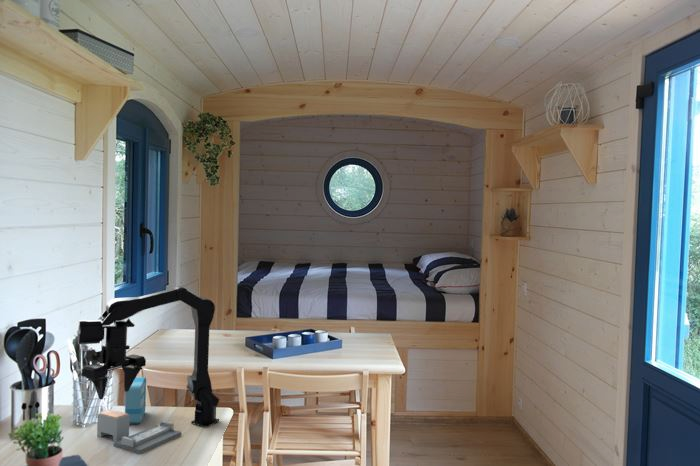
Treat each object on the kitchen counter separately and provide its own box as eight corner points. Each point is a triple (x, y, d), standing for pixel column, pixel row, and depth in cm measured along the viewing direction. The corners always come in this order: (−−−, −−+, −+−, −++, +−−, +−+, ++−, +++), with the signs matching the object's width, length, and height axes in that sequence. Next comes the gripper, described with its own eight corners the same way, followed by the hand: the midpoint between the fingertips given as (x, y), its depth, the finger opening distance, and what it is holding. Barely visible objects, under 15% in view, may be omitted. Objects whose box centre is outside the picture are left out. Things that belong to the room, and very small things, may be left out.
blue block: (139, 424, 180) (140, 386, 180) (124, 425, 179) (125, 386, 179) (145, 411, 192) (146, 375, 191) (130, 412, 191) (131, 376, 190)
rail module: (109, 431, 174) (110, 408, 174) (128, 436, 170) (129, 413, 170) (97, 435, 170) (97, 412, 170) (116, 441, 166) (117, 418, 166)
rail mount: (156, 428, 177) (156, 418, 177) (181, 435, 173) (181, 425, 173) (113, 446, 163) (114, 435, 163) (139, 453, 159) (140, 442, 158)
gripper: (121, 333, 181) (119, 383, 182) (69, 343, 165) (67, 398, 165) (148, 338, 176) (145, 389, 177) (97, 349, 160) (94, 405, 160)
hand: (114, 395), depth 170 cm, fingers open, 9 cm apart
